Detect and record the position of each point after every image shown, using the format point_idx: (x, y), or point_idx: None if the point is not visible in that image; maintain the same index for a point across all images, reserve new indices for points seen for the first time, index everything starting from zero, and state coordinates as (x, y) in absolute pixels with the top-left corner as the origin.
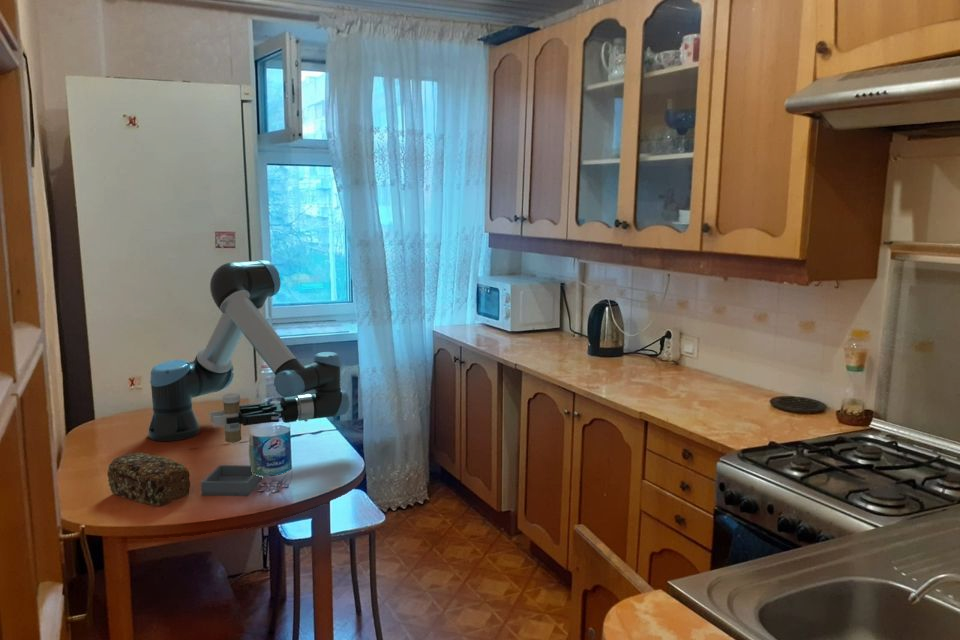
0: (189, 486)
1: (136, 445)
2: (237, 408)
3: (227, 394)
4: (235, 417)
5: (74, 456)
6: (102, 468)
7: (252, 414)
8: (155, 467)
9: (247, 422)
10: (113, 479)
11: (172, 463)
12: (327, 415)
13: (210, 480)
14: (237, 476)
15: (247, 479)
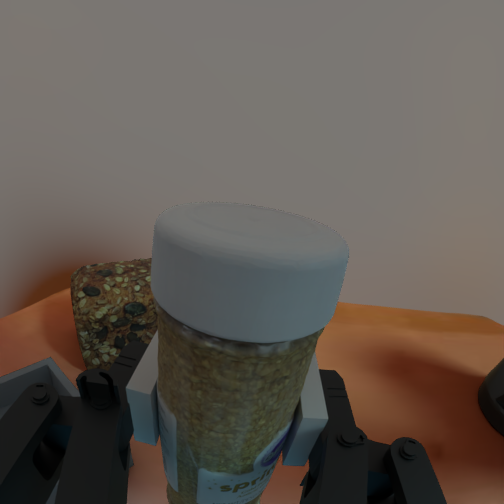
0: (83, 359)
1: (456, 366)
2: (162, 365)
3: (288, 217)
4: (122, 383)
5: (407, 314)
6: (345, 327)
7: (59, 492)
8: (103, 267)
9: (59, 458)
10: None
11: (95, 284)
12: None
13: (64, 391)
14: None
15: None
